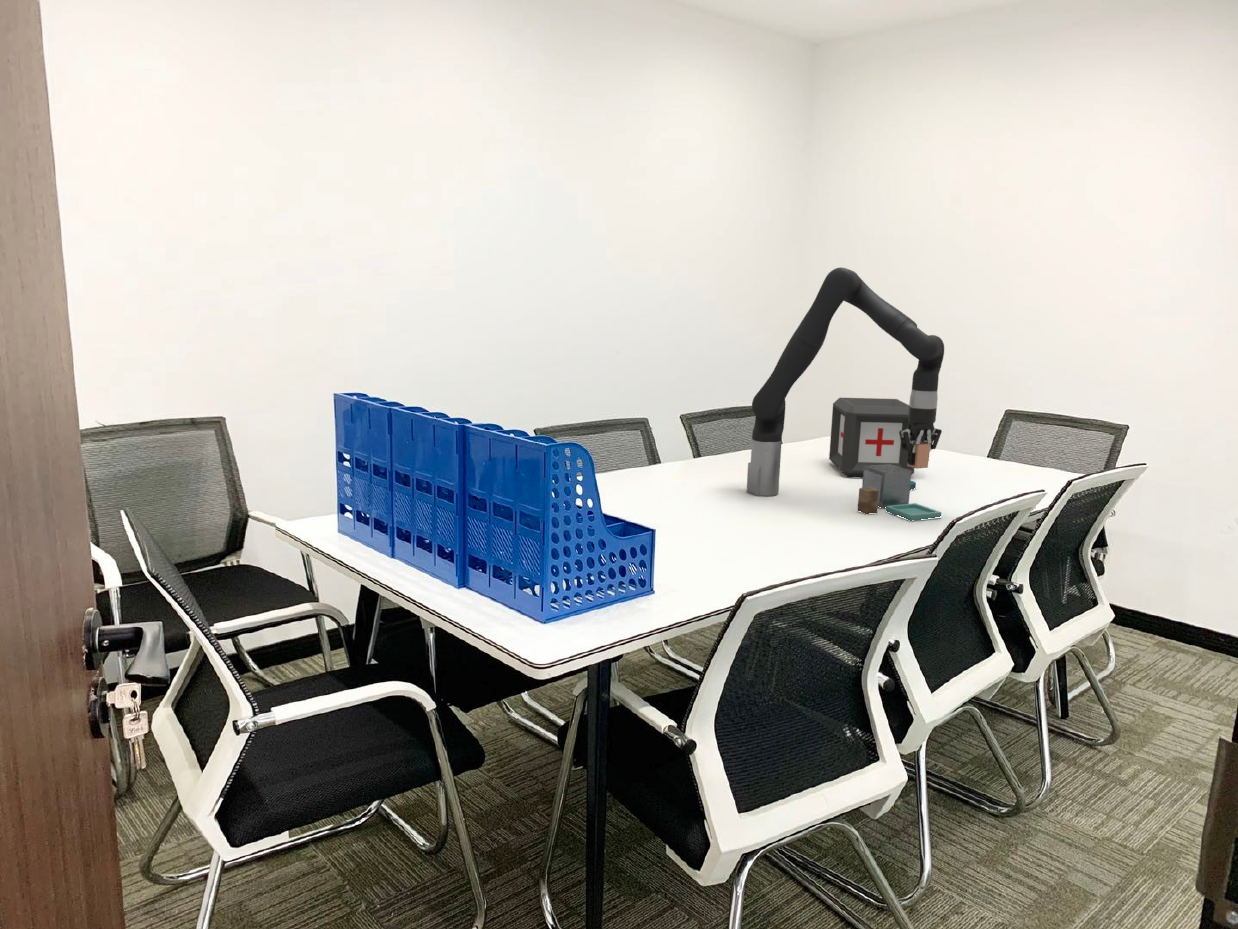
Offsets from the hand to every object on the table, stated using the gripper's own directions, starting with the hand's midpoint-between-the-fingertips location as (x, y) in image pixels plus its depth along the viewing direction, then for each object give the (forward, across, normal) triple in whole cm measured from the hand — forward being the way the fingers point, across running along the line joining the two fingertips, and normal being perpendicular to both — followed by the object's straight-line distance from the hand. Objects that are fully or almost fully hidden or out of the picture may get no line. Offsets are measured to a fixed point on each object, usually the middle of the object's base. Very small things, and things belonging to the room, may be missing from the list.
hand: (917, 464), depth 262 cm
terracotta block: (+1, 0, 0) cm, 1 cm away
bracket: (+16, -16, -27) cm, 35 cm away
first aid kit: (+16, -26, -53) cm, 61 cm away
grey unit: (+15, -1, -14) cm, 21 cm away
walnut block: (+15, +11, -7) cm, 20 cm away
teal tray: (+15, 0, 0) cm, 15 cm away
